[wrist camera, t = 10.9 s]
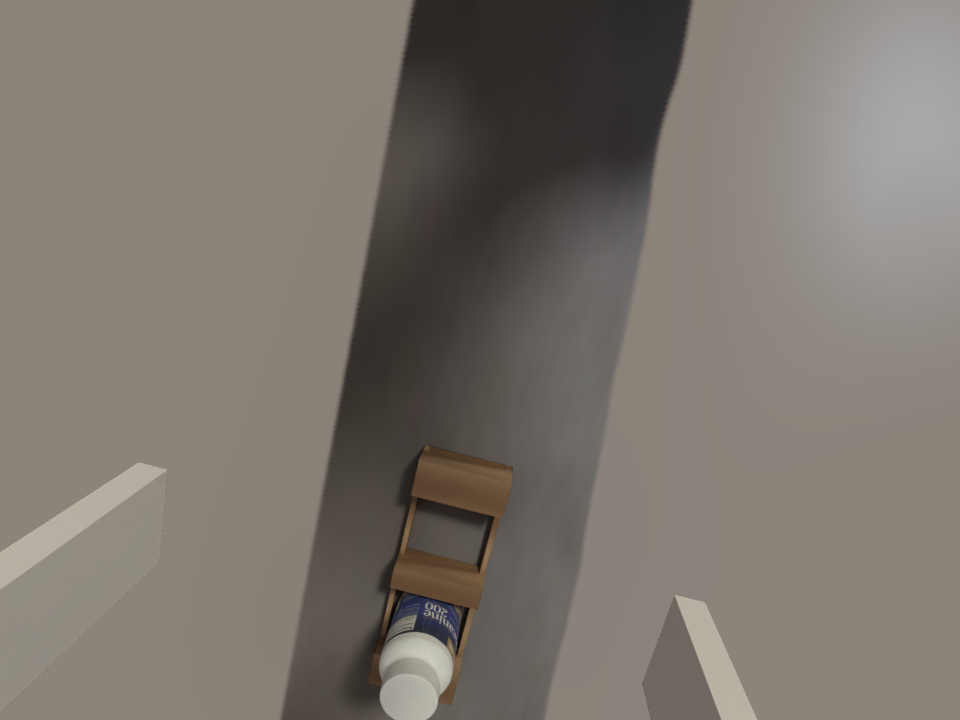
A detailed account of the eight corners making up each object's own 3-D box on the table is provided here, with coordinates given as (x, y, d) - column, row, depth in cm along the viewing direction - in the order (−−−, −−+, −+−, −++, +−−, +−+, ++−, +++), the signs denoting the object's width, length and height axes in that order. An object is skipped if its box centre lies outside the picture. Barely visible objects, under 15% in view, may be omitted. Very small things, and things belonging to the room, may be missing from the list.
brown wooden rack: (425, 445, 46) (419, 459, 43) (512, 467, 45) (511, 483, 43) (376, 656, 50) (367, 683, 47) (455, 677, 50) (451, 705, 47)
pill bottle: (474, 615, 49) (464, 709, 39) (424, 646, 50) (401, 745, 40) (435, 567, 48) (415, 651, 38) (385, 599, 49) (353, 689, 39)
